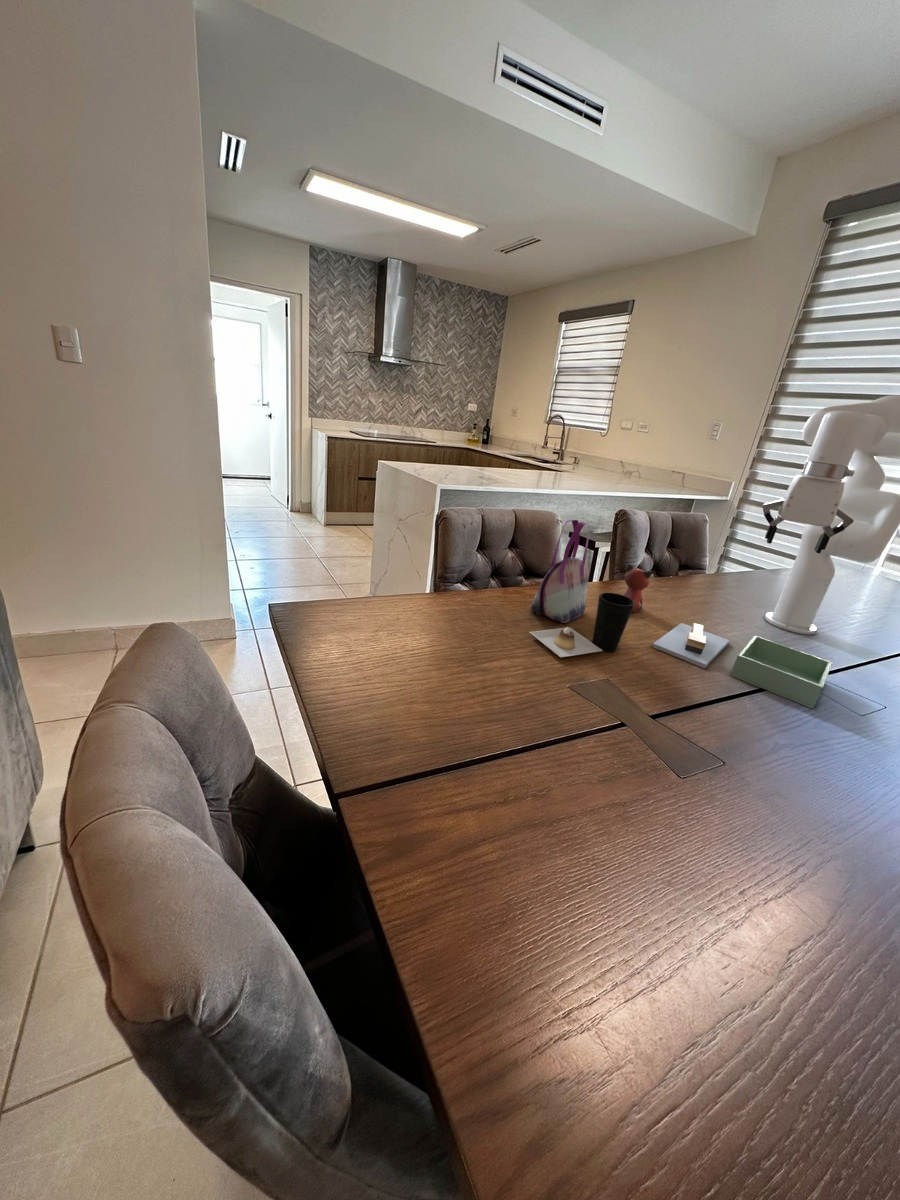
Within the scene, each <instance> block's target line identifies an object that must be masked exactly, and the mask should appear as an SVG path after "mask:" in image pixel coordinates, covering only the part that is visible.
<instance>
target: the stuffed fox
mask: <svg viewBox="0 0 900 1200" xmlns="http://www.w3.org/2000/svg"><path fill="white" fill-rule="evenodd" d="M625 566H626V567H625V570H626V573H625V574H624V582H625V584H626V586H627V589H626V591H625V593H624V594H623V596H626V597H628V598H630V599H632V600H633V601H634V603H635V604H634V607H633V609H632V612H631V613H638V612H640V611H641V610H642V609H643V599H644V598H643V590H645V589H646V588H648V587H649V585H650V583H651V582H650V581H651V580H650V577H651V576H652V574H653V573H654V572H653V571H652V570H643V569H640V568H636V567H634V566H633V565H632V564H631V563H627V564H626V565H625Z"/></svg>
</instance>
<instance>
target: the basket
mask: <svg viewBox="0 0 900 1200" xmlns="http://www.w3.org/2000/svg"><path fill="white" fill-rule="evenodd" d="M832 665H833V661H831V660H827V659H824V658H821V657H818V656H816V655H813V654H811V653H807V652H805V651H802V650H799V649H797V648H793V647H790V646H788V645H784V644H781V643H778V642H776V641H773V640H770V639H767V638H764V637H761V636H758V635H754V636H753V637H752V638H751V639H750V640H749V642H748V643H747V644H746V645H745V646H744V647H743V649H742V650H741V651H740V652H738V654H737V656H736V658H735V661H734V664H733V666H732V669H731V671H730V674H729V676H731V677H733V678H736V679H738V680H741V681H743V682H746V683H748V684H751V685H753V686H756V687H758V688H760V689H763V690H766V691H767V692H770V693H773V694H775V695H778V696H780V697H783V698H785V699H788V700H790V701H793V702H795V703H797V704H800V705H803V706H805V707H806V708H810V709H814V707H815V705H816V703H817V701H818V699H819V698H820V696H821V694H822V691H823V689H824V687H825V684H826V681H827V679H828V676H829V673H830V671H831V669H832Z"/></svg>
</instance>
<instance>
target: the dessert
mask: <svg viewBox="0 0 900 1200" xmlns="http://www.w3.org/2000/svg"><path fill="white" fill-rule="evenodd" d="M529 634H531V635H532V636H533V637H534V638H535V639H537V640H538V641H539V642H540V643H542V644H543V645H544V646H545V647H546V648H548V649H549V650H550V651H552V652H553V653H554V654H555V655H557V656H558V657H560V658H568V657H574V656H580V655H586V654H592V653H599V652H604V651H603V650H602V649H600V648H599V647H597V646H596V645H594V644H593V643H592V642H591V641H590V640H589V639H587V638H586V637H585V636H583V635H582V634H580V633H579V632H578V631H576V630H574V629H573V628H572V627H570V626H569V627H568V626H565V627H559V628H558V627H557V628H552V629H543V630H536V631H529Z"/></svg>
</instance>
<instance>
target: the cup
mask: <svg viewBox="0 0 900 1200" xmlns="http://www.w3.org/2000/svg"><path fill="white" fill-rule="evenodd" d="M634 604H635V603H634V601H633V600H632V599H630V598H628V597H626V596H624V594H620V593H615V592H602V593H600V594H599V596H598V602H597V609H596V616H595V621H594V628H593V633H592V634H593V635H592V643H593V644H594V645H596V646H597V647H599V648H600V649H602V650H603V651H602V652H607V653H614V652H616V651H617V649H618V647H619V644H620V642H621V639H622V636H623V634H624V633H625V629H626V627H627V624H628V622H629V619H630V617H631V614H632V613H633V612H632V609H633V607H634Z"/></svg>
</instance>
